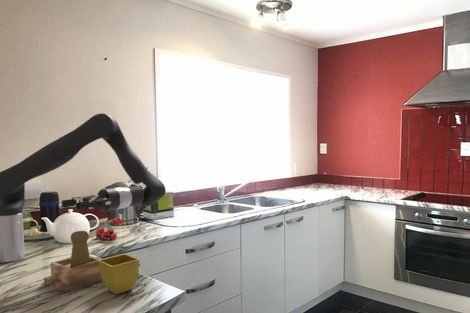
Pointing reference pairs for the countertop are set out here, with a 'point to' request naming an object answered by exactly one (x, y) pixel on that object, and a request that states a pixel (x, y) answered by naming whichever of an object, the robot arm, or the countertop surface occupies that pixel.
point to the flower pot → (119, 272)
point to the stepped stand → (73, 275)
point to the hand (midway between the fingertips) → (68, 205)
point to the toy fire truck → (110, 232)
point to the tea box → (161, 207)
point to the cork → (79, 248)
